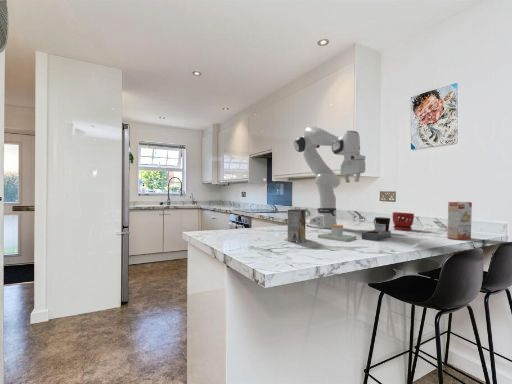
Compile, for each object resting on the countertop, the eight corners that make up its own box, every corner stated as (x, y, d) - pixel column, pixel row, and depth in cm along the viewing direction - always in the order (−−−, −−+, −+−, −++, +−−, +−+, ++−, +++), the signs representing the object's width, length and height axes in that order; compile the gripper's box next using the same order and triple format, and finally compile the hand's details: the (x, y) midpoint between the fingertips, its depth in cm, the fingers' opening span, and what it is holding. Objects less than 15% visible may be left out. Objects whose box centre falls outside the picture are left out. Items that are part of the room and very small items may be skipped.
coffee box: (294, 238, 147) (294, 208, 147) (305, 240, 143) (306, 209, 143) (287, 241, 139) (287, 209, 139) (298, 242, 135) (299, 210, 135)
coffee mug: (391, 235, 164) (392, 218, 164) (376, 234, 166) (376, 218, 166) (386, 232, 176) (386, 216, 176) (372, 231, 178) (372, 216, 178)
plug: (331, 238, 146) (331, 225, 146) (335, 237, 150) (335, 224, 150) (338, 239, 143) (338, 225, 143) (342, 238, 147) (343, 225, 147)
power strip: (361, 240, 145) (361, 231, 145) (376, 236, 160) (376, 228, 160) (377, 242, 140) (377, 233, 140) (390, 237, 154) (390, 230, 154)
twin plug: (374, 236, 153) (374, 224, 153) (378, 235, 157) (378, 223, 157) (382, 237, 150) (382, 225, 150) (385, 236, 154) (385, 224, 154)
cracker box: (458, 240, 149) (459, 202, 149) (446, 238, 155) (447, 201, 155) (472, 238, 156) (472, 201, 156) (460, 236, 161) (460, 201, 161)
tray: (318, 238, 148) (318, 234, 148) (329, 236, 157) (329, 232, 157) (345, 242, 137) (345, 238, 137) (356, 239, 145) (356, 236, 145)
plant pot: (409, 231, 182) (409, 213, 182) (389, 229, 192) (389, 212, 192) (416, 230, 190) (416, 212, 190) (396, 228, 200) (397, 211, 200)
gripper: (337, 160, 168) (337, 183, 168) (357, 155, 148) (357, 181, 148) (347, 160, 169) (347, 183, 169) (367, 156, 150) (367, 181, 149)
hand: (352, 182), depth 158 cm, fingers open, 8 cm apart
